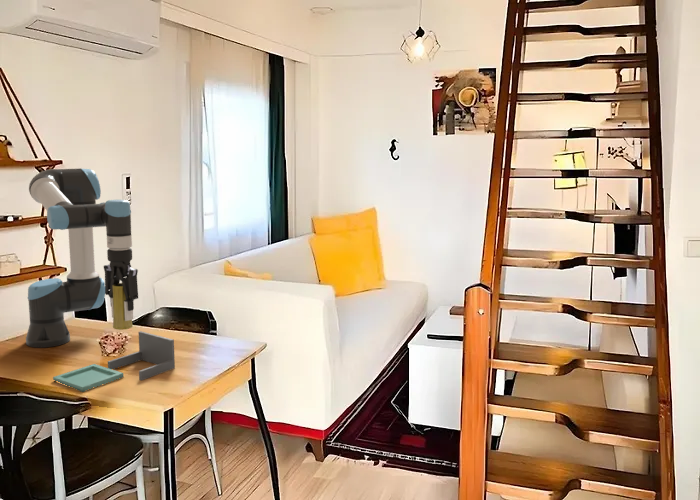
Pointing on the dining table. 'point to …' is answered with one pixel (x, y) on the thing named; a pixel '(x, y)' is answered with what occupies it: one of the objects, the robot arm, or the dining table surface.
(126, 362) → the dock
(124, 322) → the vase
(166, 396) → the dining table surface
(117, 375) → the tray
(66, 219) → the robot arm
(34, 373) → the dining table surface
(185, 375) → the dining table surface
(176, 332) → the dining table surface
